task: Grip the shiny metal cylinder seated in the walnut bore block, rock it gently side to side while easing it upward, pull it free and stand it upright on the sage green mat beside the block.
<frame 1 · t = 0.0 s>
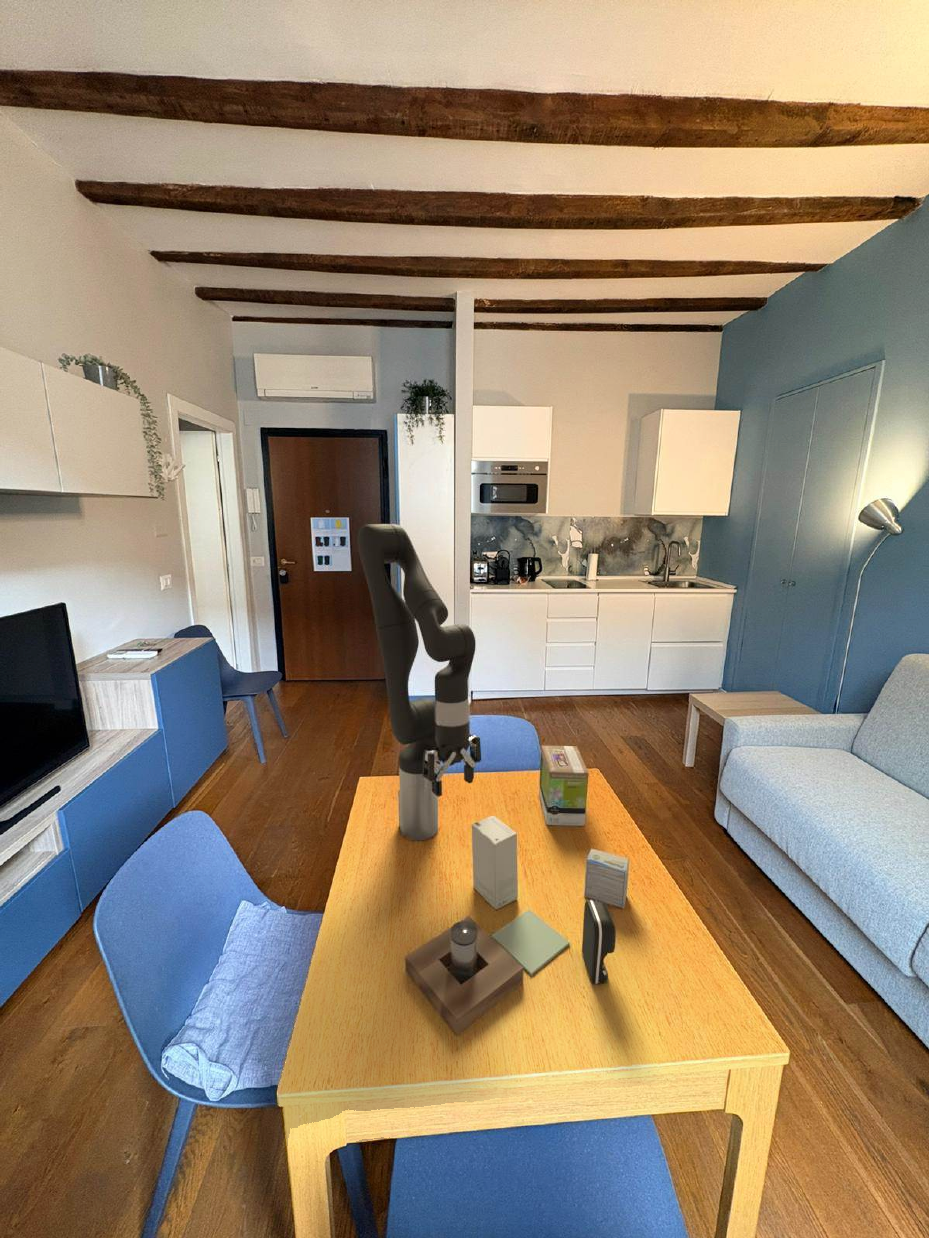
hand: (453, 788, 111), 17 cm above the table, tool pointing down, fingers open, 8 cm apart
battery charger: (596, 968, 87), on the table
shiny metal cylinder: (463, 954, 84), in the bore block
skincare box: (493, 893, 104), on the table
mat: (530, 940, 93), on the table
tea box: (560, 809, 134), on the table
bore block: (463, 976, 85), on the table
medicine box: (605, 897, 104), on the table
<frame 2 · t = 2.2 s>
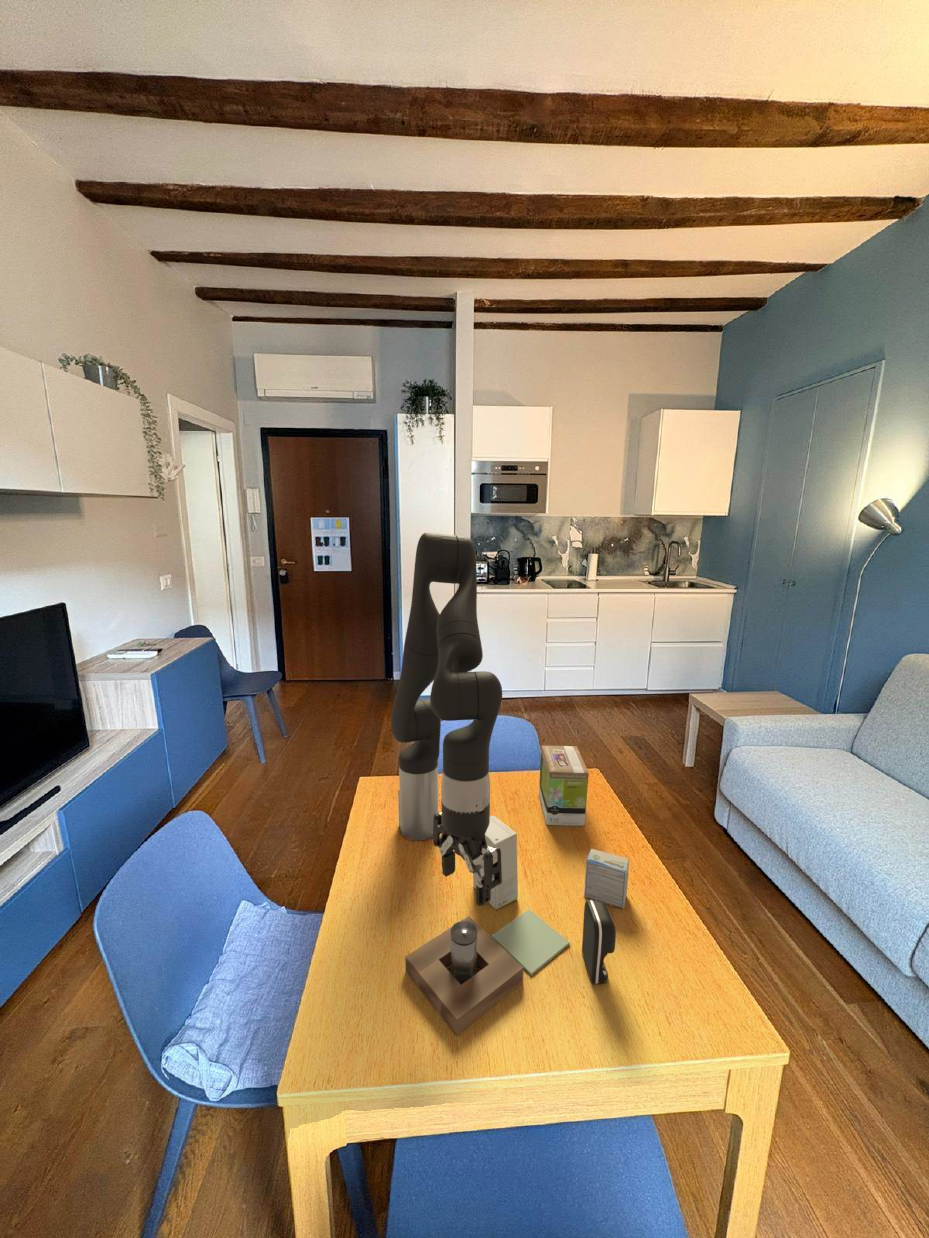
hand: (465, 888, 82), 17 cm above the table, tool pointing down, fingers open, 8 cm apart
nothing on the table moved.
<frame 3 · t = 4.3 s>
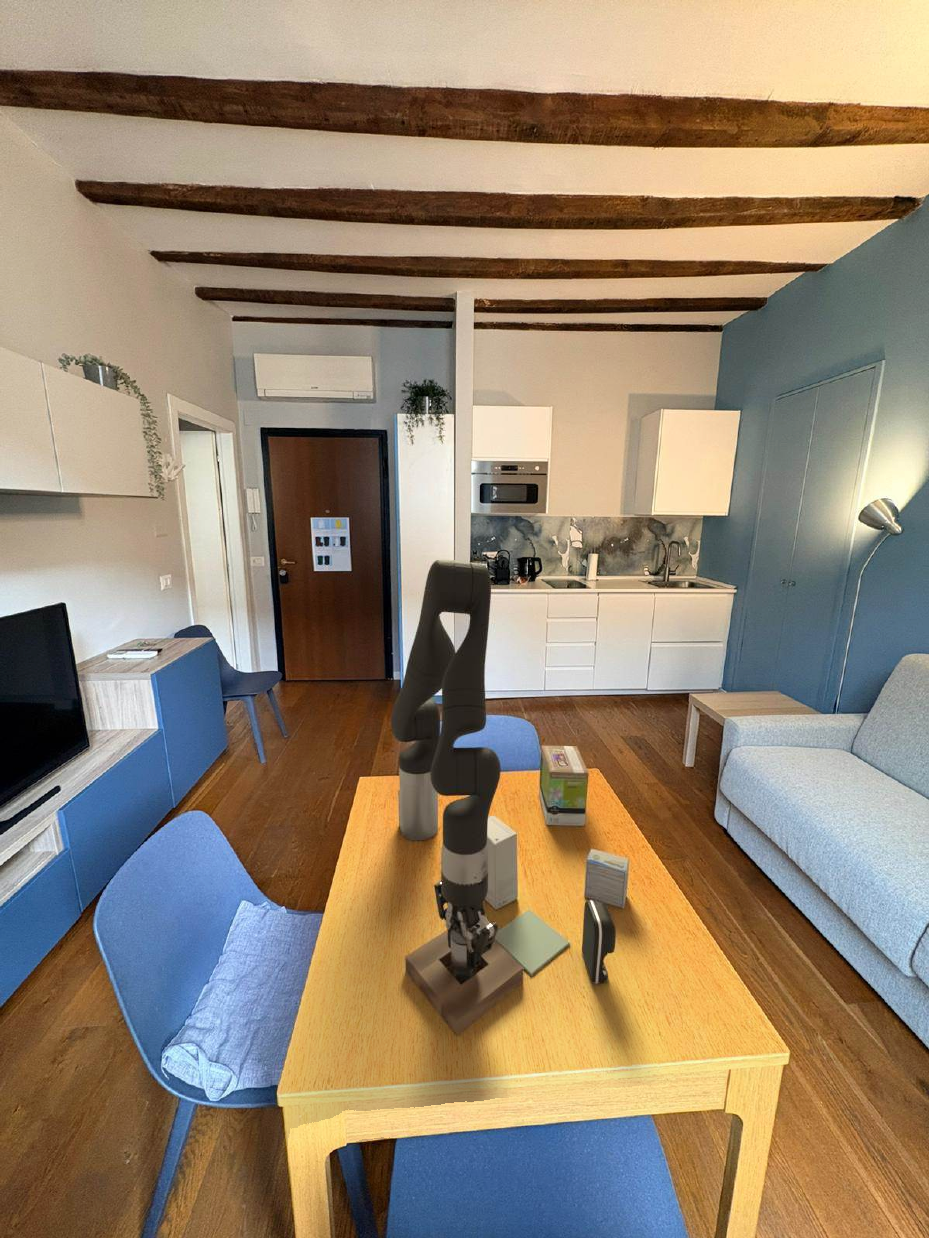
hand: (463, 955, 84), 4 cm above the table, tool pointing down, fingers closed on shiny metal cylinder, 4 cm apart
shiny metal cylinder: (463, 954, 84), in the bore block, touching gripper
everything else where it was.
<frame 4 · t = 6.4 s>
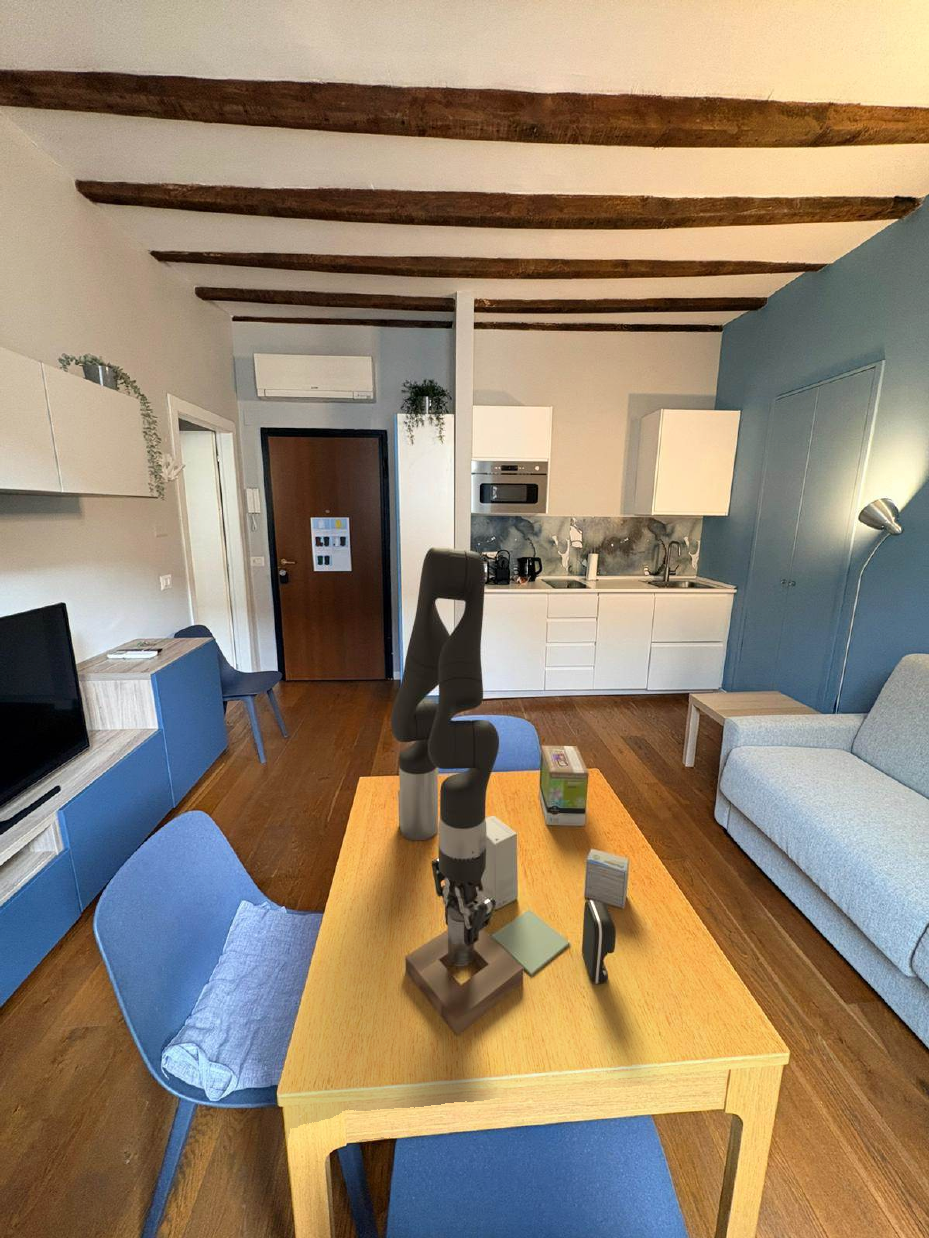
hand: (461, 932, 83), 9 cm above the table, tool pointing down, fingers closed on shiny metal cylinder, 4 cm apart
shiny metal cylinder: (461, 931, 83), point 9 cm above the table, touching gripper
everything else where it was.
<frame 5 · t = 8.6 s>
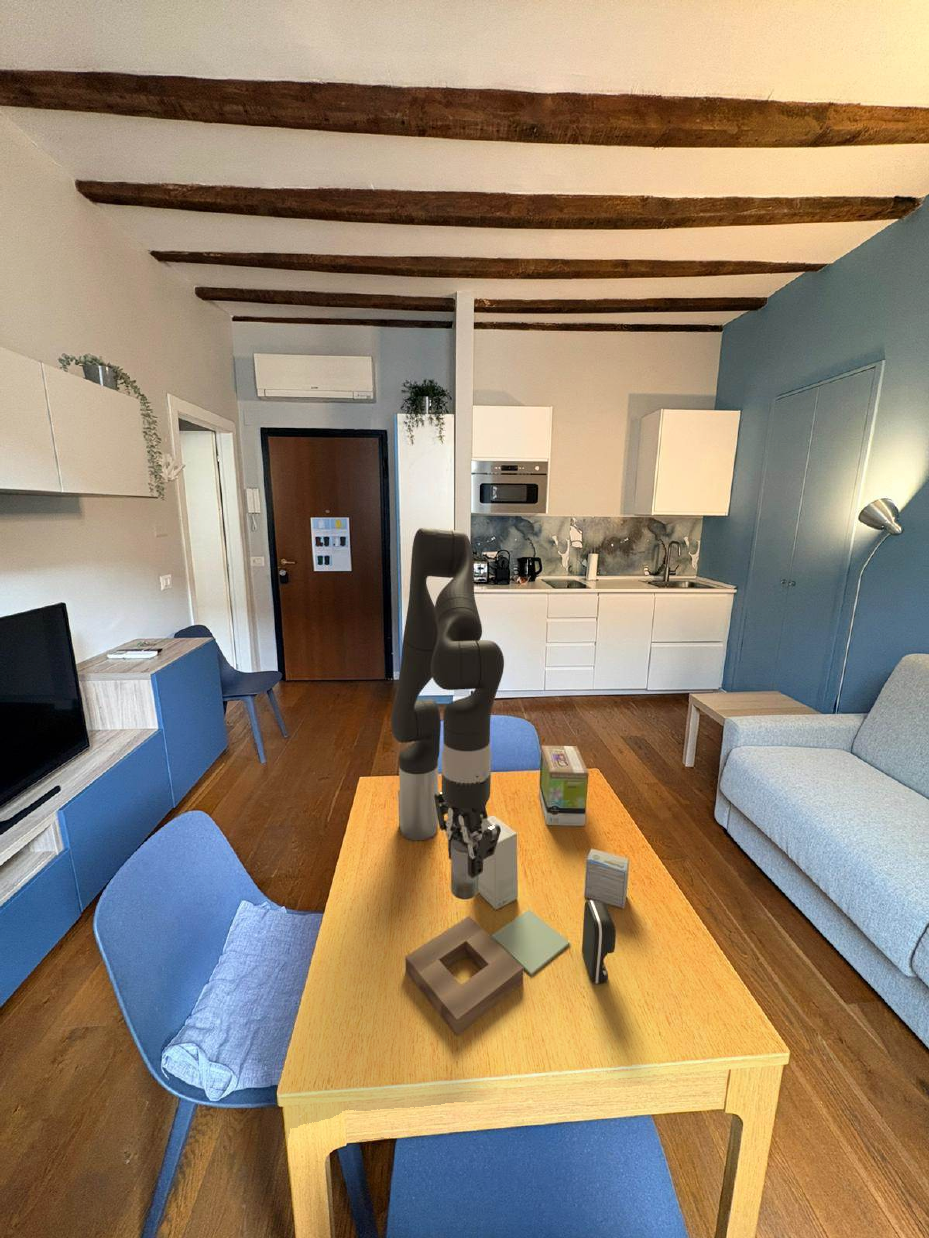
hand: (465, 865, 81), 21 cm above the table, tool pointing down, fingers closed on shiny metal cylinder, 4 cm apart
shiny metal cylinder: (464, 864, 81), point 21 cm above the table, touching gripper
everything else where it was.
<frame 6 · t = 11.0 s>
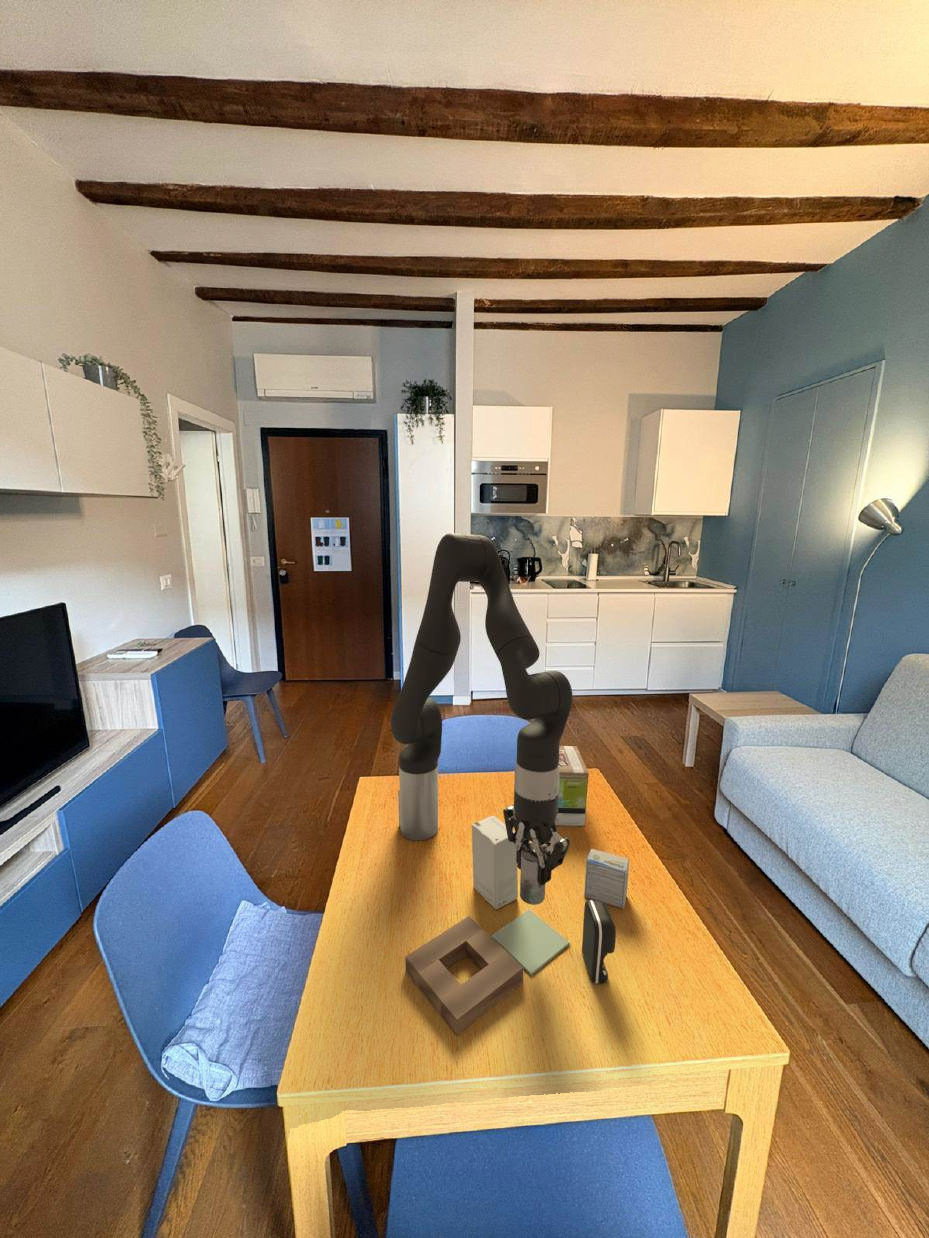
hand: (533, 874, 90), 14 cm above the table, tool pointing down, fingers closed on shiny metal cylinder, 4 cm apart
shiny metal cylinder: (533, 873, 90), point 14 cm above the table, touching gripper
everything else where it was.
when the fingers open (6 cm above the table, at t = 13.2 s): shiny metal cylinder drops 1 cm, resting on mat.
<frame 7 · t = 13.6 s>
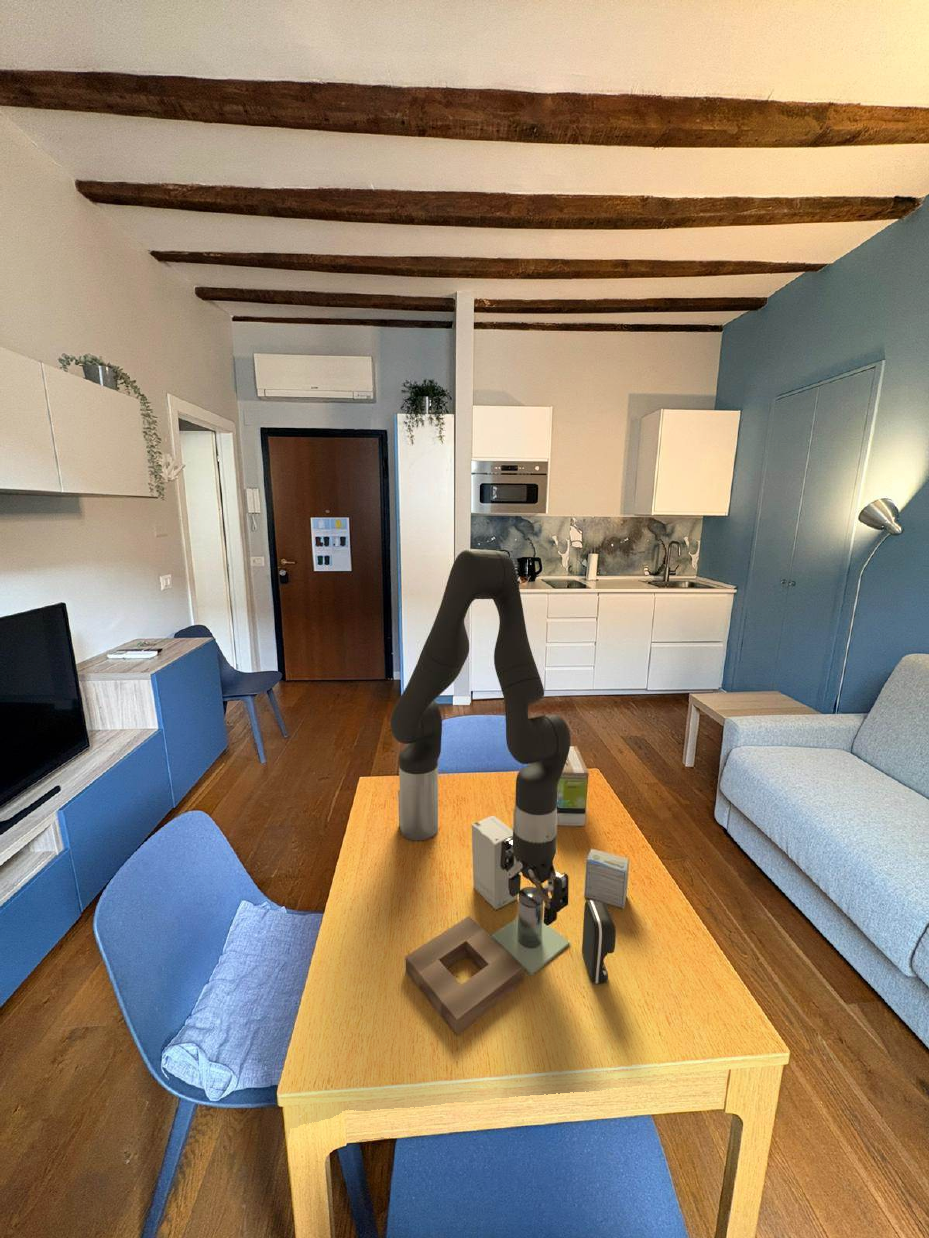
hand: (531, 907, 91), 7 cm above the table, tool pointing down, fingers open, 8 cm apart
shiny metal cylinder: (530, 917, 92), on the mat
everything else where it was.
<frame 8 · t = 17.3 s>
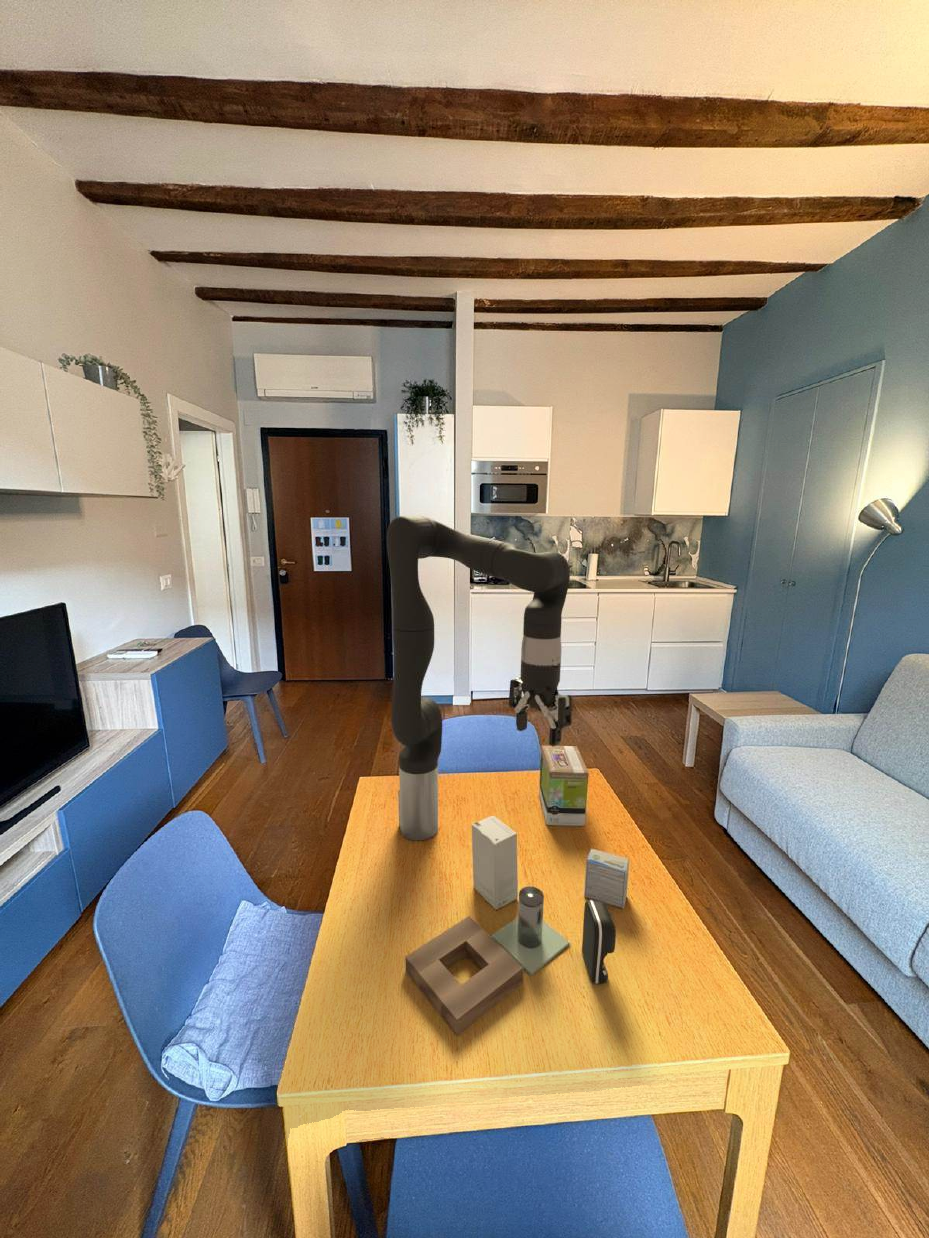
hand: (537, 737, 100), 33 cm above the table, tool pointing down, fingers open, 8 cm apart
nothing on the table moved.
at the end: shiny metal cylinder inside the target area on the mat (0.1 cm from its centre), point 5.0 cm above the mat's base; shiny metal cylinder tilted 1°; the gripper is holding nothing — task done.
